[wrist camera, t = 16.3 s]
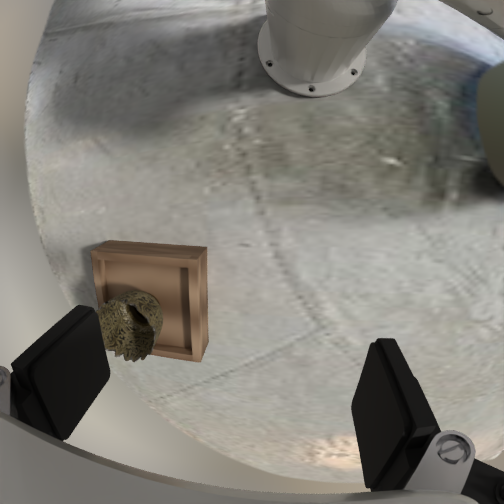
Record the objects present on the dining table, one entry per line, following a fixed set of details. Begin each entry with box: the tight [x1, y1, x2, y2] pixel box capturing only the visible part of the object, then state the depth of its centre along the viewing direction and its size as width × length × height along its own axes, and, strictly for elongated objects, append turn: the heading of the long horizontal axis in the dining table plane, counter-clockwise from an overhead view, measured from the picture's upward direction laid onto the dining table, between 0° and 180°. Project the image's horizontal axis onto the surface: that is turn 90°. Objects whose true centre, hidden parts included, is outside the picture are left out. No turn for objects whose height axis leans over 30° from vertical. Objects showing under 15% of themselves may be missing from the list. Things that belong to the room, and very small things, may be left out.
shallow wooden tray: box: [91, 240, 209, 362], centre depth 39 cm, size 14×14×6 cm
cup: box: [96, 290, 163, 362], centre depth 34 cm, size 8×7×8 cm
